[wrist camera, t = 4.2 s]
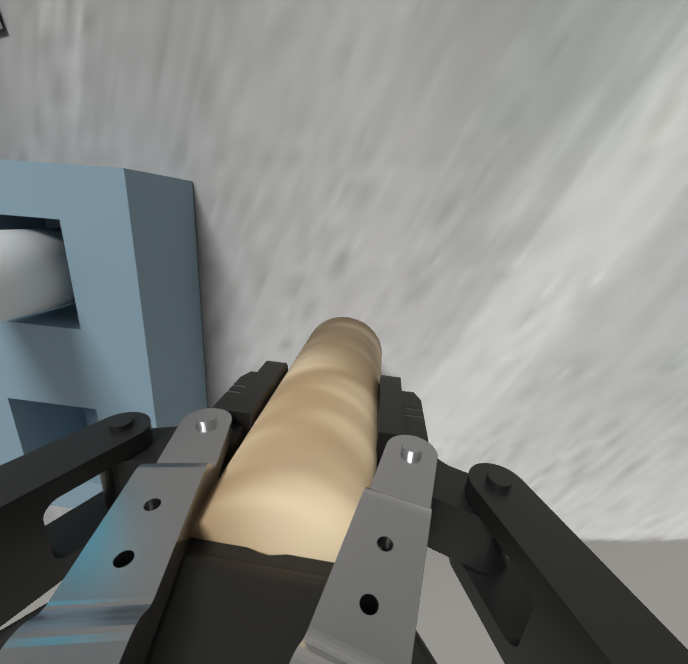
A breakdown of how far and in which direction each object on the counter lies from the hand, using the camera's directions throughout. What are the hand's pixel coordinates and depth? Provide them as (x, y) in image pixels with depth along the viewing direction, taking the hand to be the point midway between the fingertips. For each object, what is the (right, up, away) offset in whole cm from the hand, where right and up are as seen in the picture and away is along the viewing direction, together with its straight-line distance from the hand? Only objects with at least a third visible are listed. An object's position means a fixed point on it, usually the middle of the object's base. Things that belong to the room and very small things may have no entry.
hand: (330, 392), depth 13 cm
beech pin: (0, +1, +4) cm, 4 cm away
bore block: (-14, +2, +8) cm, 16 cm away
